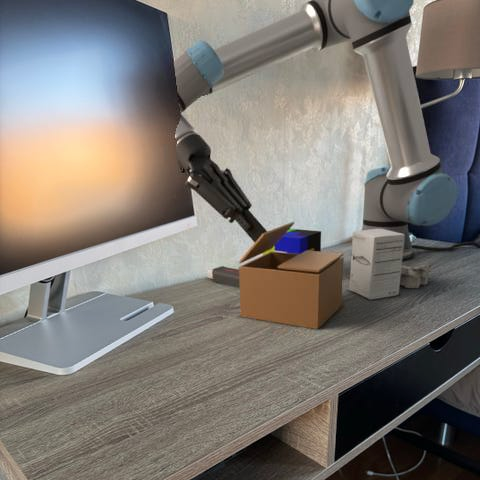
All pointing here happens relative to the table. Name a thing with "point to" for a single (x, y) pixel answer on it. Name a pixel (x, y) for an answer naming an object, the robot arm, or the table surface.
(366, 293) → the white packaging box
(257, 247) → the flap
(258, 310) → the carton
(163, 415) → the table surface
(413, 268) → the egg carton
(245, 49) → the robot arm
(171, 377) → the table surface
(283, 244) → the puzzle toy
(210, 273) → the usb drive
